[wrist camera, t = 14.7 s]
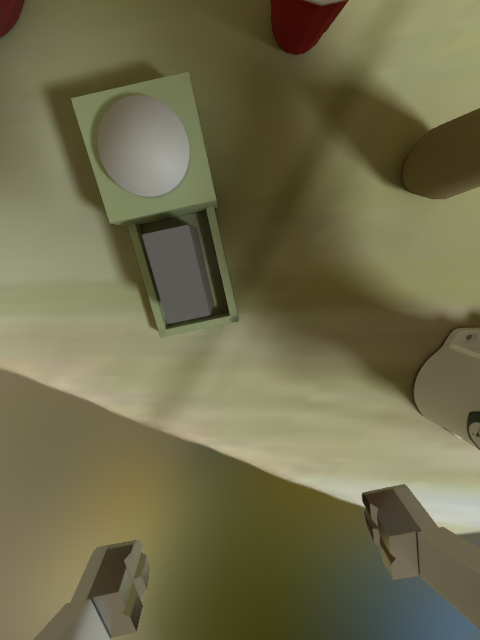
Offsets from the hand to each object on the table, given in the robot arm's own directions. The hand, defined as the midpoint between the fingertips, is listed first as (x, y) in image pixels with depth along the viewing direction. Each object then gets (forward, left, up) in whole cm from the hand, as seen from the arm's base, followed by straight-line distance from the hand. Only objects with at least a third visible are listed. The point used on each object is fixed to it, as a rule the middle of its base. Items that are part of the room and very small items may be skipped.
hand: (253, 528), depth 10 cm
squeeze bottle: (-28, -14, -31) cm, 44 cm away
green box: (+5, -15, -31) cm, 35 cm away
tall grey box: (+5, -8, -31) cm, 33 cm away
